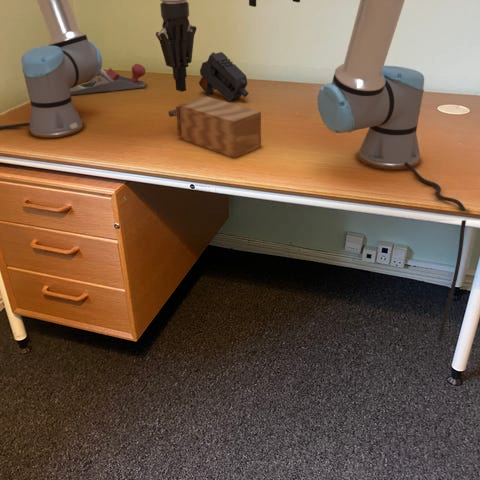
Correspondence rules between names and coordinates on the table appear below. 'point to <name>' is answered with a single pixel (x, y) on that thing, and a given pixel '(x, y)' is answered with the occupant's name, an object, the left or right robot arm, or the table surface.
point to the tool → (222, 77)
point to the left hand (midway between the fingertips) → (181, 90)
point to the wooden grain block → (221, 126)
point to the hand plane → (111, 81)
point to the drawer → (177, 114)
